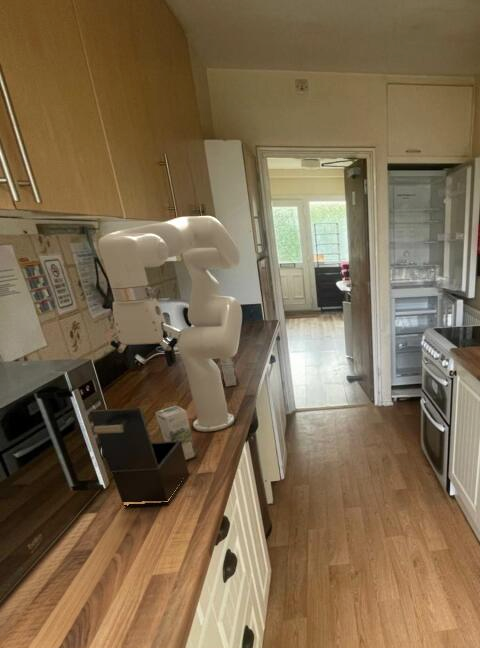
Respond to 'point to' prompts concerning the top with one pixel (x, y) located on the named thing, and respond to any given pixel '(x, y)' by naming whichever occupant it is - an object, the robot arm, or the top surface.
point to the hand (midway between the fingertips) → (151, 365)
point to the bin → (154, 477)
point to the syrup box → (176, 429)
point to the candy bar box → (228, 372)
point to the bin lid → (124, 439)
